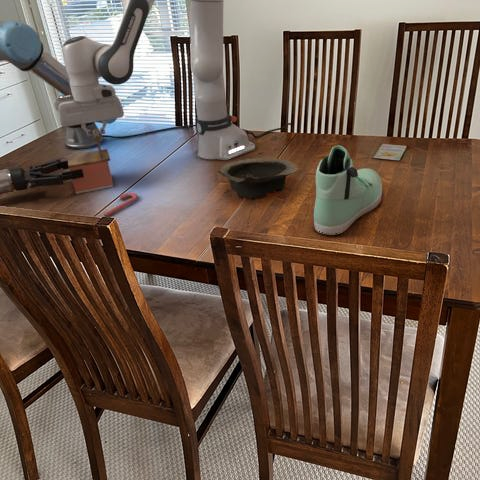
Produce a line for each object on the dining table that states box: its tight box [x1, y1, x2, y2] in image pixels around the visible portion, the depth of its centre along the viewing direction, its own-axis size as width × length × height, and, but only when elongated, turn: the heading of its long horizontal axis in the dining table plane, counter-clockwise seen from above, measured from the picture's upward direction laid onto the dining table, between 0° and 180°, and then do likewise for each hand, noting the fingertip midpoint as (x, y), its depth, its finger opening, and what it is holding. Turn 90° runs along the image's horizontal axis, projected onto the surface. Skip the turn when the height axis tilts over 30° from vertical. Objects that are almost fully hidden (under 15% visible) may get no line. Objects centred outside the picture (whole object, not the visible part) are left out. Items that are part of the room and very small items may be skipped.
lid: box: [66, 129, 111, 168], centre depth 160 cm, size 13×10×9 cm
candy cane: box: [103, 192, 139, 218], centre depth 150 cm, size 6×15×2 cm, turn 145°
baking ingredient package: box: [373, 143, 407, 161], centre depth 172 cm, size 9×1×15 cm
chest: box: [68, 161, 114, 195], centre depth 164 cm, size 13×10×9 cm
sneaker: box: [313, 145, 383, 236], centre depth 133 cm, size 14×35×20 cm, turn 152°
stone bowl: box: [217, 157, 299, 201], centre depth 152 cm, size 25×25×9 cm
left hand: (82, 167), depth 162 cm, fingers closed on chest, 10 cm apart
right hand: (96, 134), depth 159 cm, fingers open, 3 cm apart
